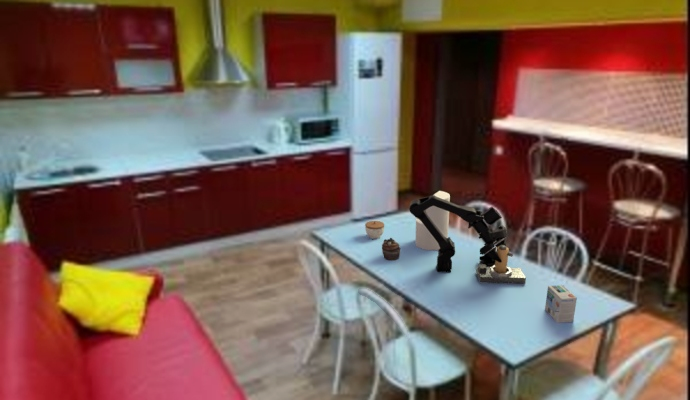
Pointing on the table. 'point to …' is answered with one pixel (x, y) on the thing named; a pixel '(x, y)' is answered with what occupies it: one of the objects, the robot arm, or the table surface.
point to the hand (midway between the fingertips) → (504, 258)
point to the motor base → (500, 275)
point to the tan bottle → (503, 254)
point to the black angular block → (487, 261)
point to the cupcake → (391, 249)
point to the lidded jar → (374, 229)
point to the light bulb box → (560, 303)
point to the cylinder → (438, 218)
